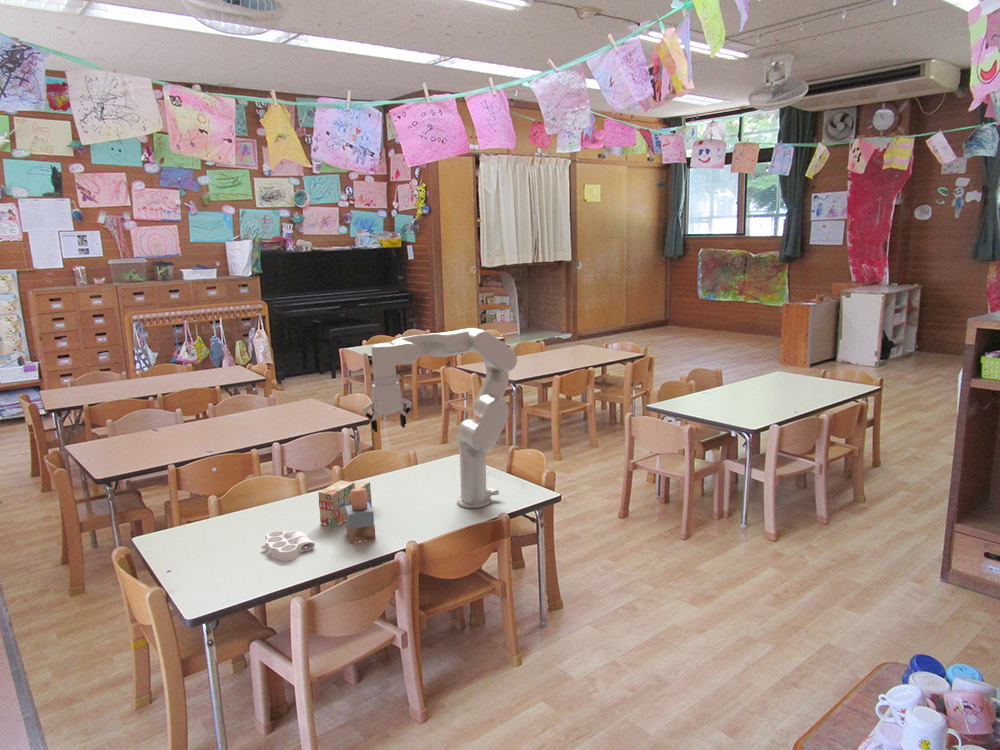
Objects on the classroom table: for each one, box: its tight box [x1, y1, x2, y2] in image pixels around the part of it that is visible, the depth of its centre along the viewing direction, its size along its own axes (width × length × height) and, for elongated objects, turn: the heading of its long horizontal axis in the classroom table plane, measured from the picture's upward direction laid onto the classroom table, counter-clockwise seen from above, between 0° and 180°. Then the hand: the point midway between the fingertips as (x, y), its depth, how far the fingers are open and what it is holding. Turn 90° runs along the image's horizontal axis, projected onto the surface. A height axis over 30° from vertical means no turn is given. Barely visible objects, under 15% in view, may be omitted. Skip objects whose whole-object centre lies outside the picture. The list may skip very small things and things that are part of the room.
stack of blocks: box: [318, 479, 372, 528], centre depth 249 cm, size 21×6×12 cm, turn 154°
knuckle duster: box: [261, 529, 316, 562], centre depth 224 cm, size 3×18×15 cm
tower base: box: [345, 521, 376, 544], centre depth 232 cm, size 8×8×5 cm
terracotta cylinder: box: [350, 488, 367, 510], centre depth 230 cm, size 5×5×6 cm
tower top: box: [345, 503, 375, 529], centre depth 231 cm, size 8×8×5 cm
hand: (389, 428), depth 239 cm, fingers open, 9 cm apart
